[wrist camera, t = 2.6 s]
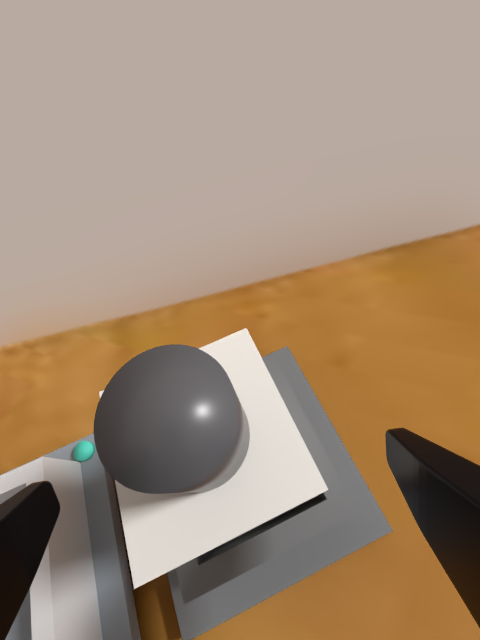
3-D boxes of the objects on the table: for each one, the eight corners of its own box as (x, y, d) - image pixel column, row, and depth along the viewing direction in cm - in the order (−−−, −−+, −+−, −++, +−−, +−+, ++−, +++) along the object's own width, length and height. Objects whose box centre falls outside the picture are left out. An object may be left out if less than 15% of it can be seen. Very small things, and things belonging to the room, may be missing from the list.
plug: (299, 489, 14) (354, 489, 4) (223, 528, 14) (44, 649, 3) (264, 412, 16) (234, 269, 6) (196, 444, 16) (28, 354, 5)
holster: (387, 528, 14) (425, 542, 10) (188, 635, 13) (151, 694, 9) (287, 351, 19) (289, 317, 15) (137, 418, 18) (99, 400, 14)
